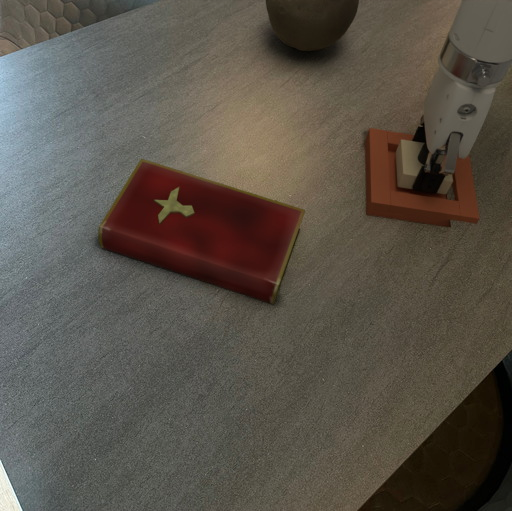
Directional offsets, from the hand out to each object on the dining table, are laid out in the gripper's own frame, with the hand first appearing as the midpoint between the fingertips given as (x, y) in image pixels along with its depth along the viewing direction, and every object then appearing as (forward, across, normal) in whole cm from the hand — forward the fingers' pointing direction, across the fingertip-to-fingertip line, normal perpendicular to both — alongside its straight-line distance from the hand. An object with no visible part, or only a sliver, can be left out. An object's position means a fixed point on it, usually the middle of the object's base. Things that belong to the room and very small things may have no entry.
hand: (422, 169), depth 83 cm
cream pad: (+1, 0, 0) cm, 1 cm away
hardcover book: (+3, -15, +27) cm, 31 cm away
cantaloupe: (+3, +27, +17) cm, 32 cm away
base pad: (+3, 0, 0) cm, 3 cm away
